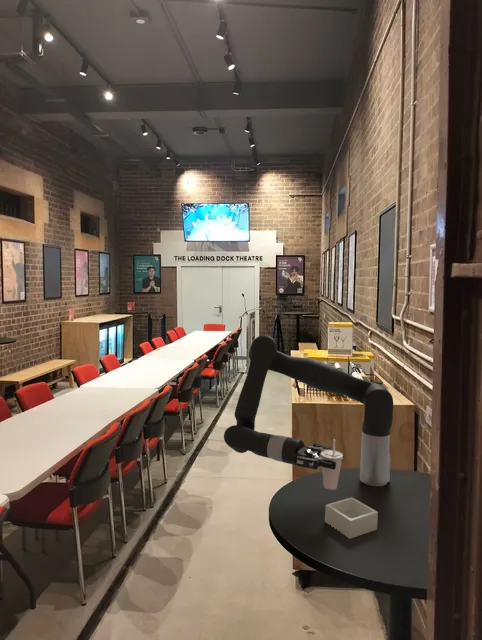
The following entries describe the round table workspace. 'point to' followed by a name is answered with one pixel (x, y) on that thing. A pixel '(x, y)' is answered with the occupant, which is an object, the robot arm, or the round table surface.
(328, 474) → the smoothie
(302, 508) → the round table surface
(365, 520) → the box
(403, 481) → the round table surface
